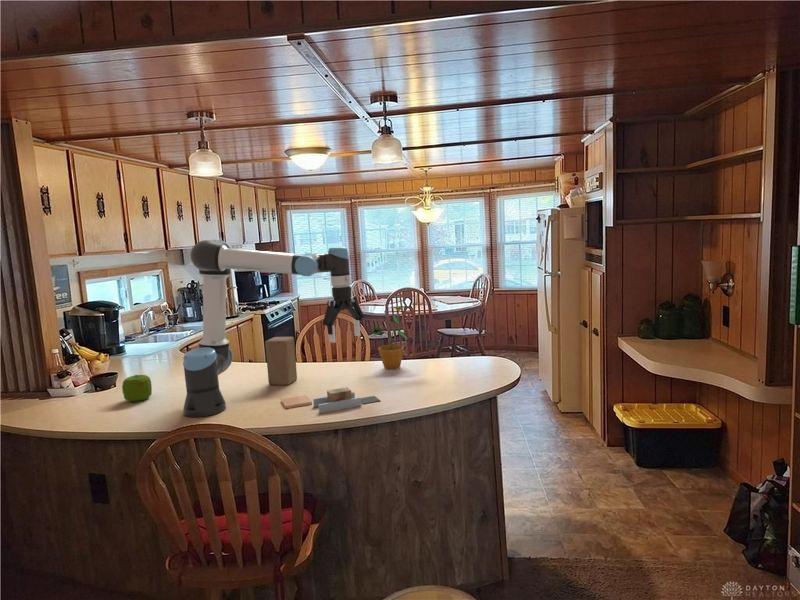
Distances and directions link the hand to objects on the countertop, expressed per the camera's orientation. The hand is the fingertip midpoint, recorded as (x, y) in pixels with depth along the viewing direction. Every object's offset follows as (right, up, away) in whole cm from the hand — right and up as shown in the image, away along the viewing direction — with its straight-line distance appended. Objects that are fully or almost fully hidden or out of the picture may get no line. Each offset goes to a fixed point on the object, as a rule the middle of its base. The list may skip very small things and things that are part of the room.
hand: (345, 339), depth 211 cm
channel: (-2, -24, -12) cm, 27 cm away
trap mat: (+10, -23, -8) cm, 26 cm away
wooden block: (-31, -21, +25) cm, 45 cm away
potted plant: (+18, -17, +41) cm, 48 cm away
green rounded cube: (-88, -26, +11) cm, 92 cm away
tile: (-19, -24, -6) cm, 31 cm away
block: (-1, -24, -12) cm, 27 cm away
